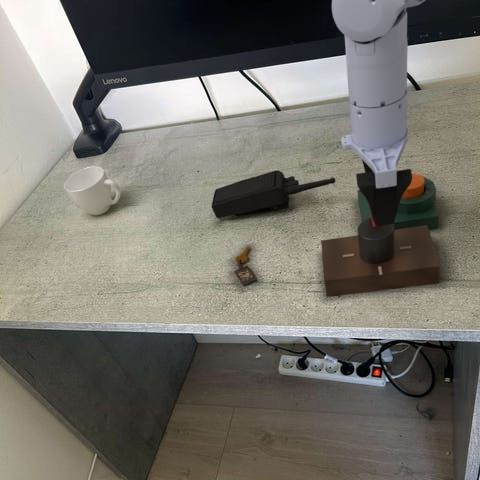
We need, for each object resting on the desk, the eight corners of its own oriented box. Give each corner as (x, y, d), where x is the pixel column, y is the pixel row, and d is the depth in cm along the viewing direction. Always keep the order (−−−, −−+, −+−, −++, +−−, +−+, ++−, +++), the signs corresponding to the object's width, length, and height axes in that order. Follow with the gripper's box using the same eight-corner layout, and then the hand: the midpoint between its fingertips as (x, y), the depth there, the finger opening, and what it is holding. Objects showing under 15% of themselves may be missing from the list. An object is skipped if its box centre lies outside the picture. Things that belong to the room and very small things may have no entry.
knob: (397, 260, 62) (396, 234, 58) (361, 265, 62) (359, 240, 59) (391, 238, 64) (391, 212, 61) (357, 243, 65) (355, 217, 62)
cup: (91, 197, 97) (74, 168, 92) (135, 194, 94) (121, 163, 89) (74, 222, 92) (56, 192, 87) (120, 220, 89) (104, 188, 84)
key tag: (257, 282, 69) (256, 279, 69) (237, 287, 70) (236, 284, 69) (249, 246, 75) (248, 243, 74) (231, 251, 75) (230, 248, 75)
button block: (427, 190, 74) (428, 167, 71) (439, 228, 68) (441, 204, 65) (358, 201, 76) (356, 179, 73) (364, 239, 70) (363, 216, 67)
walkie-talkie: (218, 188, 84) (334, 160, 78) (224, 224, 84) (340, 199, 78) (205, 182, 78) (329, 151, 72) (211, 220, 78) (336, 193, 72)
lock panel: (425, 240, 67) (426, 222, 65) (439, 284, 61) (440, 266, 59) (323, 255, 70) (320, 238, 68) (326, 298, 64) (324, 281, 62)
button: (421, 182, 70) (422, 171, 68) (426, 197, 67) (426, 186, 66) (395, 186, 71) (395, 176, 69) (399, 201, 68) (399, 190, 67)
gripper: (334, 72, 56) (344, 175, 65) (341, 137, 46) (351, 246, 56) (399, 59, 54) (399, 166, 64) (420, 123, 44) (416, 238, 54)
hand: (380, 203), depth 60 cm, fingers open, 7 cm apart
